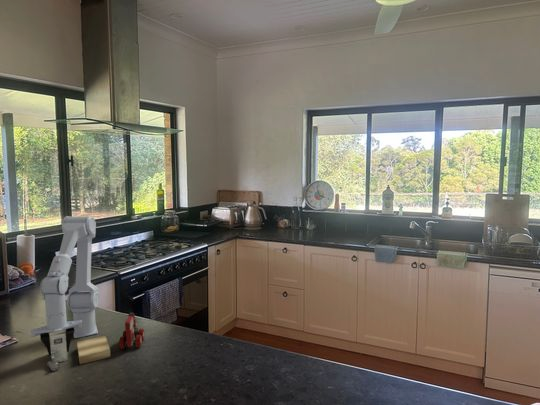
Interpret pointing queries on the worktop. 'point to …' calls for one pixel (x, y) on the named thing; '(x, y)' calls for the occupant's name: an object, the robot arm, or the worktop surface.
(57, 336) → the block
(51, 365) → the bolt
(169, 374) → the worktop surface
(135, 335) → the toy fire truck
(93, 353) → the tan wooden block
